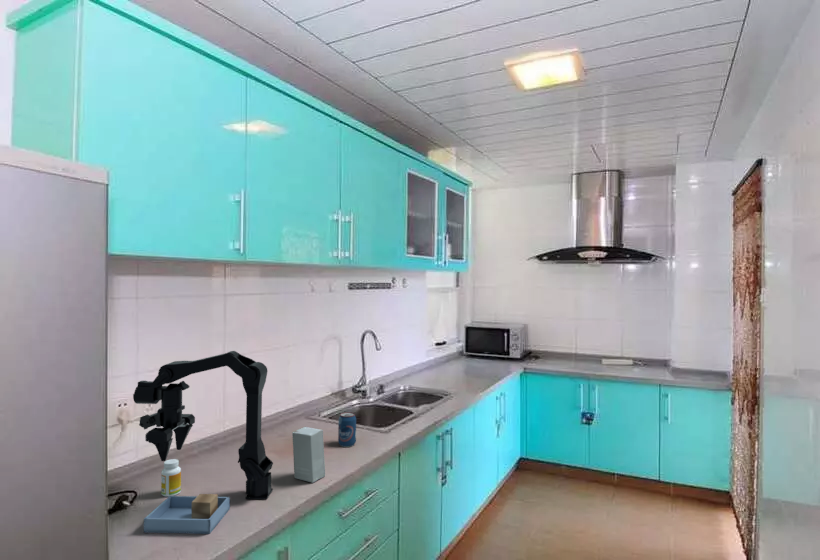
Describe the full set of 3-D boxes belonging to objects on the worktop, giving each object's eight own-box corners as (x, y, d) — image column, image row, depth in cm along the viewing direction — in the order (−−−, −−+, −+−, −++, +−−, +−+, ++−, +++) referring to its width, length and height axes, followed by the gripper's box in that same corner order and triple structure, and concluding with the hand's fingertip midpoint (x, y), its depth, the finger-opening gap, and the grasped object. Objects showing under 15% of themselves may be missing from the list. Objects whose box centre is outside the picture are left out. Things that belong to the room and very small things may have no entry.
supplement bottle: (183, 489, 152) (184, 458, 152) (176, 497, 146) (176, 464, 146) (166, 489, 152) (166, 458, 152) (157, 497, 146) (158, 464, 146)
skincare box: (325, 476, 162) (326, 429, 162) (310, 484, 156) (311, 435, 156) (306, 471, 167) (306, 424, 166) (291, 478, 160) (291, 430, 160)
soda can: (337, 447, 190) (337, 416, 189) (339, 441, 196) (339, 411, 196) (355, 447, 190) (355, 416, 190) (356, 441, 197) (356, 411, 197)
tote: (229, 509, 139) (229, 497, 139) (209, 533, 126) (209, 520, 126) (169, 508, 140) (169, 495, 140) (143, 532, 126) (143, 518, 126)
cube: (217, 512, 136) (217, 494, 136) (210, 521, 131) (210, 502, 131) (199, 511, 136) (199, 493, 136) (191, 520, 131) (191, 502, 131)
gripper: (161, 396, 158) (161, 444, 158) (127, 412, 139) (126, 466, 140) (195, 396, 158) (195, 444, 158) (166, 412, 139) (165, 467, 139)
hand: (171, 455), depth 149 cm, fingers open, 9 cm apart
